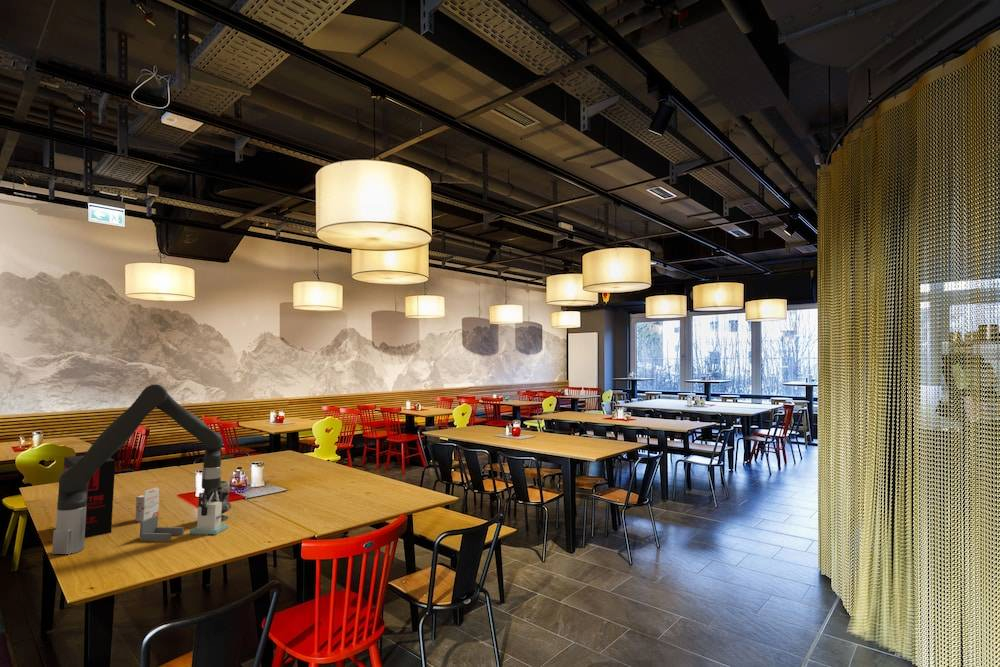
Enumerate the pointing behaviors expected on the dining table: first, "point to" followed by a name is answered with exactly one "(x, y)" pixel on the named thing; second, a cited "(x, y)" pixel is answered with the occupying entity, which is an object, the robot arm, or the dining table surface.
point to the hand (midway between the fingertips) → (209, 512)
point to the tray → (208, 530)
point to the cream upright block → (210, 516)
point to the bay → (157, 530)
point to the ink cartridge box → (147, 504)
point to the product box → (98, 497)
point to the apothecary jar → (224, 499)
